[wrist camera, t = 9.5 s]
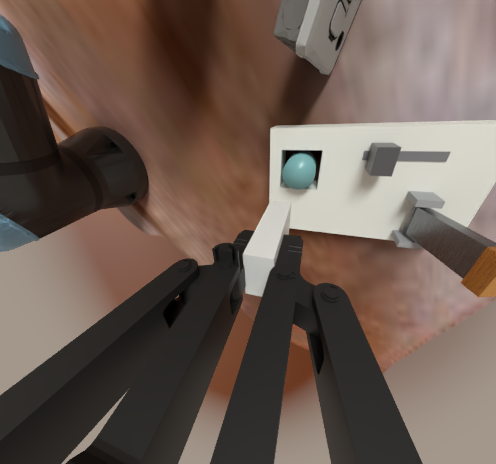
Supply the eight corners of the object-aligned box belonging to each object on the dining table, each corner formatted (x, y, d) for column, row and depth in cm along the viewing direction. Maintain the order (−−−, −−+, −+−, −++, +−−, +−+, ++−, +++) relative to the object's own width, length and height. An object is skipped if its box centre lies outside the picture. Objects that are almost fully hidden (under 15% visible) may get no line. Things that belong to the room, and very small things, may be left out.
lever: (396, 231, 25) (478, 297, 16) (408, 202, 23) (509, 260, 14) (412, 230, 25) (502, 296, 16) (425, 201, 23) (537, 258, 14)
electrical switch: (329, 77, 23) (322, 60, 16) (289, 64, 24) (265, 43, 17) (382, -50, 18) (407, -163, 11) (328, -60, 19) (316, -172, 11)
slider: (364, 168, 23) (369, 175, 21) (371, 142, 22) (377, 147, 19) (384, 169, 23) (391, 176, 20) (392, 142, 21) (401, 147, 19)
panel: (274, 214, 35) (264, 234, 30) (276, 125, 28) (265, 130, 22) (439, 231, 28) (466, 262, 23) (501, 119, 21) (563, 125, 15)
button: (287, 177, 30) (281, 188, 26) (288, 149, 28) (283, 156, 24) (314, 178, 29) (313, 190, 25) (318, 149, 27) (317, 157, 23)
